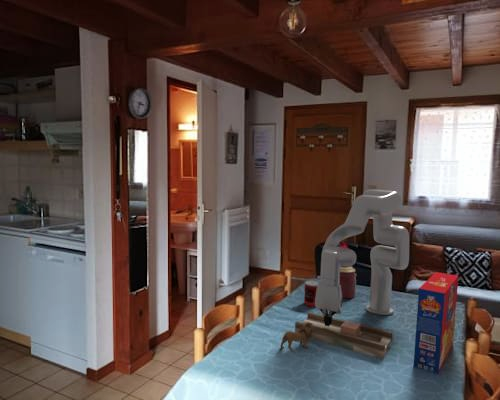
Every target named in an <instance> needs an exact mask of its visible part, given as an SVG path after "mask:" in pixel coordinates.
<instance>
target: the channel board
mask: <svg viewBox="0 0 500 400" xmlns="http://www.w3.org/2000/svg"><path fill="white" fill-rule="evenodd" d="M345 321H346V320H343V319H338V318H335V317H332V324H331V325H330V326H329V327H328V326H325V323H324V316H323V314H318V313H315V312H310V311H309V312H307V317H306V318H304V319H303V320H302V322H301V321H295V322H294V332H298V331H300V330H301V329H302V327H303V326H304V324H305V323H306V322H310V323H312V325H313V328H314V329H313V333H312V337H311V338H310V339H309V340H314V341H317V342H319V343H324V344H328V345H331V346H335V347H339V348H342V349H346V350H350V351H354V352H356V353H360V354H363V355H367V356H371V357H374V358H377V359H381V360H384V358H385V357H386V355H387V353H388V352H389V350H390V349H391V347H392V345H393V332H392V331H389V330H386V329H385V330H384V329H380V328H376V327H371V326H368V325H366V324H365V325H364V324H361V326H360V335H359V336H358V337H356V336H352V335H348V334H344V333H340V330H341V325H342V324H343V323H344V322H345Z"/></svg>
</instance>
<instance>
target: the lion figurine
mask: <svg viewBox="0 0 500 400" xmlns="http://www.w3.org/2000/svg"><path fill="white" fill-rule="evenodd" d="M313 329H314V328H313V325H312V323H310V322H306V323H305V324H304V326H303V327H302V329H301V330H300V331H298V332H295V331H291V330H289V331H286V332H285V333H284V334H283V336H282V340H281V342H280V347H279V351H282V350H284V349H285V346H284V344H285V343H287V344H288V345H287V348H288V349H289V351H290V352H294V348H292V345H293V341H294V342H296V343H297V342H299V347H304V349H305V350H308V349H309V347H308V346H307V345H308V340H311V339H310V338H311V337H312V333H313Z"/></svg>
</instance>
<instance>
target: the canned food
mask: <svg viewBox="0 0 500 400" xmlns="http://www.w3.org/2000/svg"><path fill="white" fill-rule="evenodd" d="M319 282H320V281H316V280H306V281H305V282H304V298H303V302H304V305H305V306H306V307H309V308H316V306H315V297H316V290H317V286H318V283H319Z"/></svg>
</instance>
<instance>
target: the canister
mask: <svg viewBox="0 0 500 400" xmlns="http://www.w3.org/2000/svg"><path fill="white" fill-rule="evenodd" d="M357 276H358V275H357V273H356V269H355V268H354V267H353V266H350V267H341V268H340V279H339V285H341V290H342V299H347V300H348V299H354V298H355V297H356V293H357V292H356V289H357V288H356V287H357V285H356V284H357V279H356V277H357Z"/></svg>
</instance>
